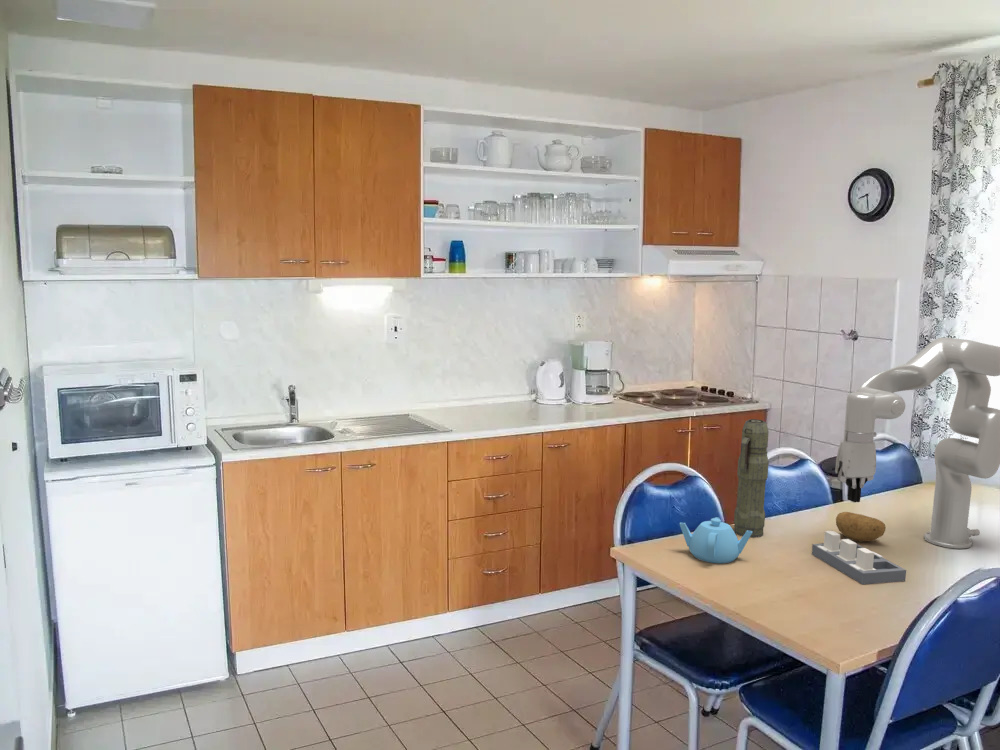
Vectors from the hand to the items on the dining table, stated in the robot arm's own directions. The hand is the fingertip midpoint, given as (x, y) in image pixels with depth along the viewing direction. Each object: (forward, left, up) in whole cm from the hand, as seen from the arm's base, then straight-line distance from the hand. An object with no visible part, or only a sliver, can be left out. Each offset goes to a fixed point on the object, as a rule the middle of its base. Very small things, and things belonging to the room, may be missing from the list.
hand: (853, 500), depth 228 cm
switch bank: (+3, +7, -17) cm, 18 cm away
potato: (-12, -12, -17) cm, 24 cm away
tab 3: (+6, +14, -15) cm, 22 cm away
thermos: (+18, -24, -17) cm, 34 cm away
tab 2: (+6, +7, -15) cm, 18 cm away
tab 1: (+6, 0, -15) cm, 17 cm away
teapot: (+38, -8, -17) cm, 42 cm away
